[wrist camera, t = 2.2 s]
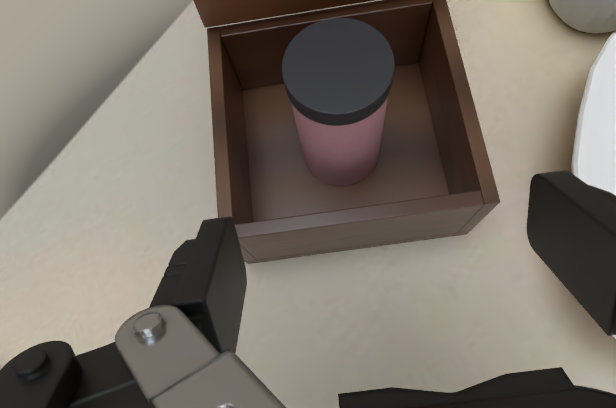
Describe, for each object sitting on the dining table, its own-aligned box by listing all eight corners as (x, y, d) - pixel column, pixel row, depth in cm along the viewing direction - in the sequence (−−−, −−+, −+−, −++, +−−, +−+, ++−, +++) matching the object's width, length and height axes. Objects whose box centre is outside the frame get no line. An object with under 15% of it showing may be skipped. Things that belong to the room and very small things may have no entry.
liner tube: (293, 178, 31) (267, 102, 21) (313, 109, 32) (298, 9, 23) (370, 195, 30) (381, 124, 20) (388, 124, 31) (405, 26, 22)
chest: (467, 234, 29) (500, 202, 23) (247, 263, 30) (219, 241, 23) (425, 58, 33) (443, -11, 27) (233, 88, 34) (206, 28, 28)
